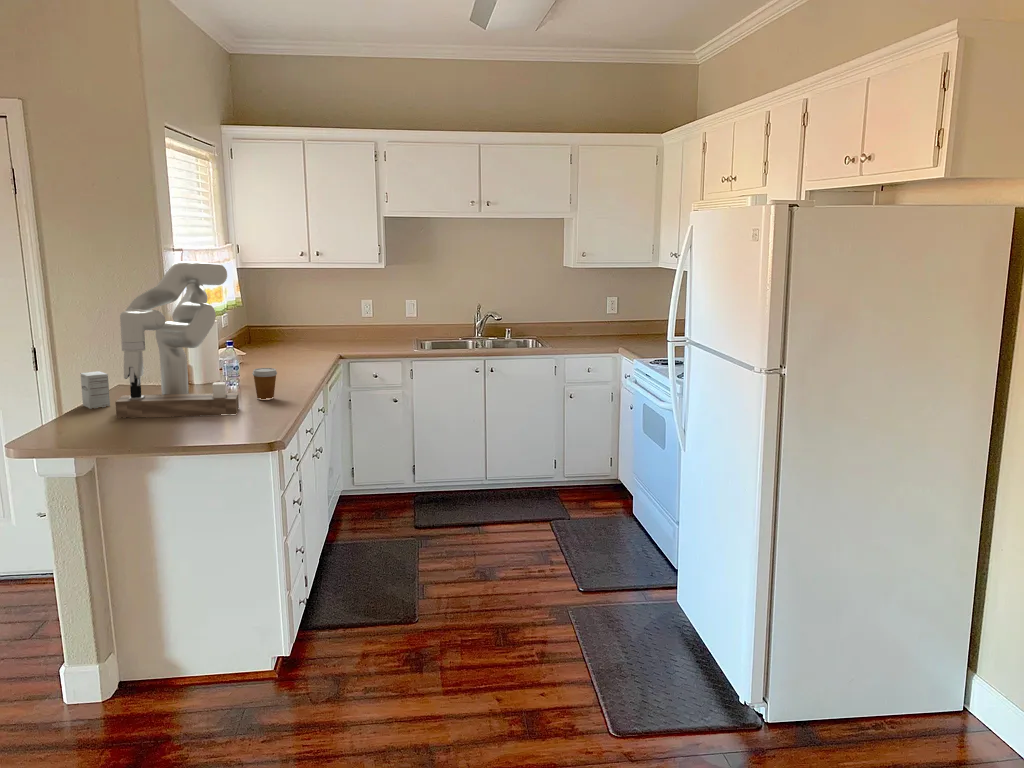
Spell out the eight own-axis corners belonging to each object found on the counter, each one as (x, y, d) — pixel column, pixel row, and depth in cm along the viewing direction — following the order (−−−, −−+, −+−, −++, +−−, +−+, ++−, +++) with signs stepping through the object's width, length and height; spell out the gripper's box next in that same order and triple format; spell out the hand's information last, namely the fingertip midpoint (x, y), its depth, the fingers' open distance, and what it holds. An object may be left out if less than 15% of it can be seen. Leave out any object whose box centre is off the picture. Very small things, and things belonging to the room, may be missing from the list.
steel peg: (132, 410, 276) (131, 395, 275) (145, 410, 277) (144, 395, 276) (130, 413, 272) (129, 398, 271) (142, 412, 273) (142, 397, 272)
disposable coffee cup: (270, 402, 301) (269, 372, 299) (248, 400, 303) (247, 370, 300) (282, 397, 310) (281, 368, 308) (260, 395, 312) (260, 367, 310)
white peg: (214, 396, 282) (213, 382, 281) (226, 396, 283) (225, 382, 282) (213, 399, 278) (212, 384, 277) (225, 398, 279) (224, 384, 278)
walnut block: (123, 411, 278) (122, 395, 277) (238, 408, 289) (238, 392, 288) (116, 418, 268) (115, 401, 267) (236, 414, 278) (235, 399, 277)
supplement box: (82, 405, 285) (79, 372, 282) (103, 403, 290) (101, 370, 288) (89, 409, 280) (86, 375, 277) (110, 406, 285) (108, 373, 283)
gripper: (126, 343, 276) (129, 393, 279) (116, 349, 261) (119, 401, 265) (149, 343, 278) (151, 392, 281) (140, 349, 263) (143, 400, 267)
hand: (136, 396), depth 273 cm, fingers closed
